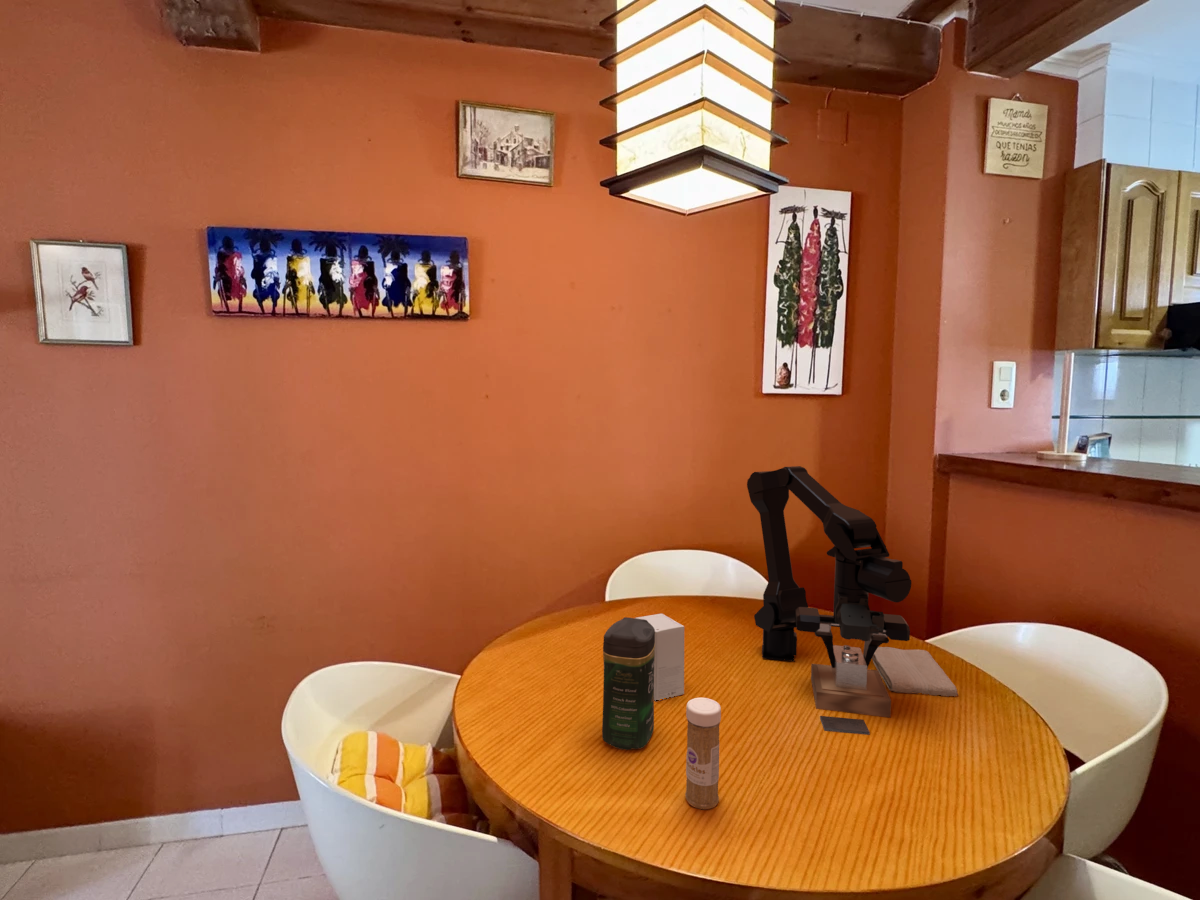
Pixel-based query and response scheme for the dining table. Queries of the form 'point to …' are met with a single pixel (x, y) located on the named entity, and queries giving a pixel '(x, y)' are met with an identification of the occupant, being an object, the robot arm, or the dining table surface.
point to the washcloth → (912, 672)
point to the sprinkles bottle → (702, 752)
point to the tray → (850, 693)
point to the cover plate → (844, 725)
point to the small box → (667, 656)
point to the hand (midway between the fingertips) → (848, 668)
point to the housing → (849, 668)
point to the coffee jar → (628, 683)
